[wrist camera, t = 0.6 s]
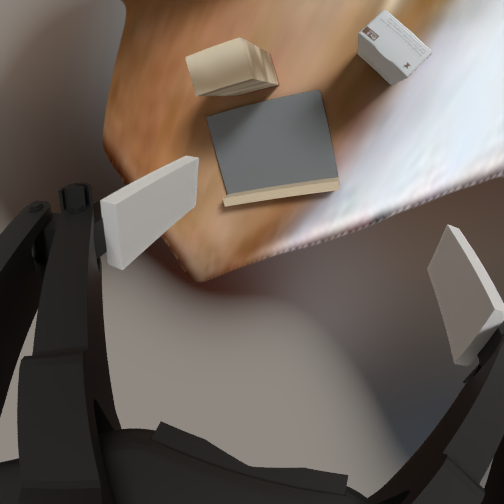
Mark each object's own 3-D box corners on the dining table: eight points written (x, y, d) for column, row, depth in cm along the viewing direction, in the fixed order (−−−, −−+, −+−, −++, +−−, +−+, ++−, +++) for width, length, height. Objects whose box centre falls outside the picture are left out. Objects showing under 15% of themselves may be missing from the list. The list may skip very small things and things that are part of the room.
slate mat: (207, 116, 39) (199, 118, 37) (319, 89, 33) (318, 89, 31) (231, 200, 44) (224, 206, 42) (339, 184, 39) (339, 190, 36)
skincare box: (410, 66, 28) (438, 52, 18) (389, 87, 30) (409, 80, 20) (374, 33, 27) (386, 5, 17) (353, 54, 30) (357, 33, 20)
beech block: (228, 66, 35) (185, 57, 25) (270, 54, 33) (240, 37, 22) (236, 95, 37) (196, 96, 26) (279, 85, 34) (252, 78, 24)
